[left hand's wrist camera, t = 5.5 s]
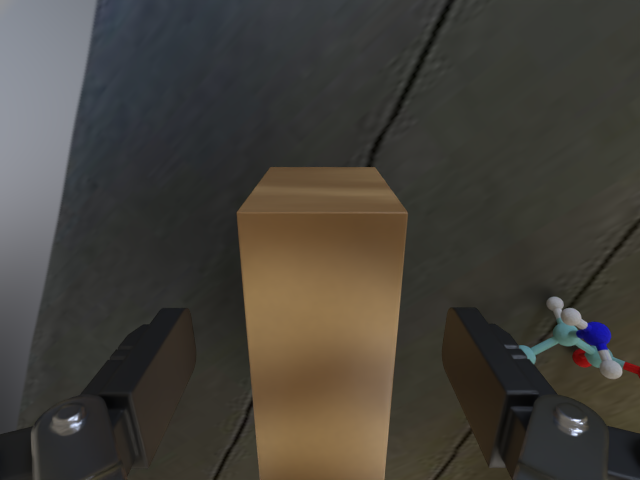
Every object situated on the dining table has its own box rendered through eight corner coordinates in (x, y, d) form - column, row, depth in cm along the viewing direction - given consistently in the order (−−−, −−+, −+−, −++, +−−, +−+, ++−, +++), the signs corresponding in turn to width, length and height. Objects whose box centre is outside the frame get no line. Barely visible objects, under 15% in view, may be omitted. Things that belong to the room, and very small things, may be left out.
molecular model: (502, 426, 33) (601, 471, 23) (461, 322, 34) (538, 322, 24) (605, 380, 35) (735, 403, 25) (563, 283, 36) (669, 270, 27)
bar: (269, 167, 20) (236, 212, 12) (375, 167, 20) (408, 212, 12) (286, 502, 29) (273, 644, 22) (357, 502, 29) (369, 645, 22)
